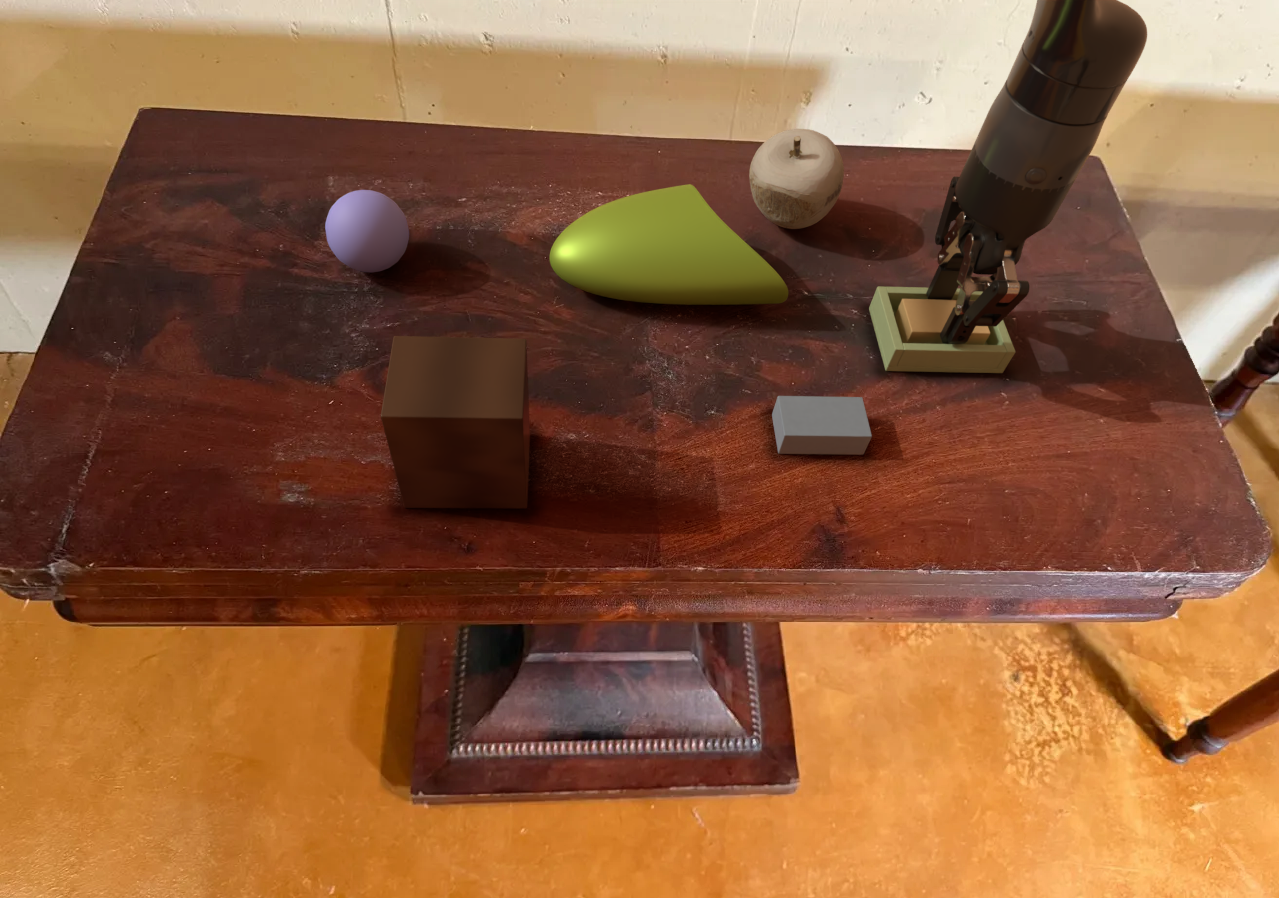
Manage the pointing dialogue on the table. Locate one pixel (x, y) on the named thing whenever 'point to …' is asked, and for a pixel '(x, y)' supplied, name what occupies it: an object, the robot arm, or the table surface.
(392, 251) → the sphere
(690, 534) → the table surface
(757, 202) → the decorative object
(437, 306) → the table surface
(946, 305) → the birch pad
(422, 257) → the table surface
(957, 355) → the olive green tray
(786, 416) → the rubber pad
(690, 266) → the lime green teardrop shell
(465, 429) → the stand
